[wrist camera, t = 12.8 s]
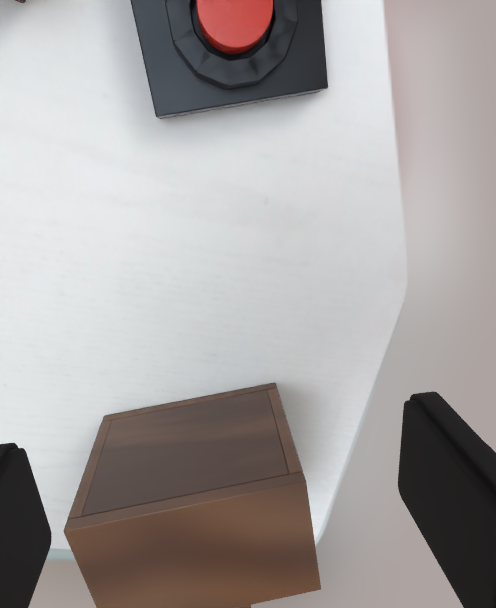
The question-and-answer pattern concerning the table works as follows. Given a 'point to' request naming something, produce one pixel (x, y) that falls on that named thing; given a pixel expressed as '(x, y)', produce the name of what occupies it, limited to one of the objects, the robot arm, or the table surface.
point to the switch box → (228, 58)
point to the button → (234, 23)
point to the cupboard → (195, 506)
